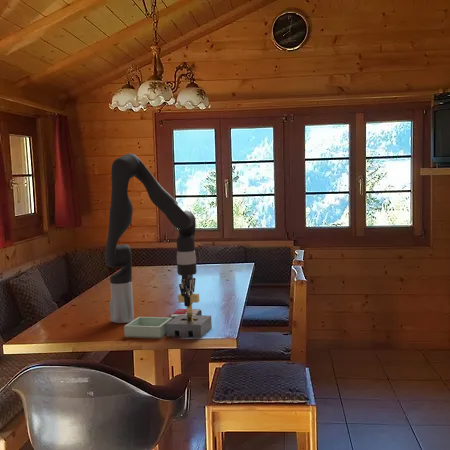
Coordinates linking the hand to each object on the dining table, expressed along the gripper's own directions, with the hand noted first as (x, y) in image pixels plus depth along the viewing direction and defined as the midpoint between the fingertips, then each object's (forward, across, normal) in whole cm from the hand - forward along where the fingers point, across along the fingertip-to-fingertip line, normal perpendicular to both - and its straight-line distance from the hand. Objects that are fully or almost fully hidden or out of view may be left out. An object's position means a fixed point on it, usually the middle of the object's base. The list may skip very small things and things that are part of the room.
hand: (188, 305), depth 229 cm
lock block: (+11, 0, 0) cm, 11 cm away
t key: (+8, 0, 0) cm, 8 cm away
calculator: (+12, +17, +7) cm, 22 cm away
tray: (+11, -3, +16) cm, 20 cm away
